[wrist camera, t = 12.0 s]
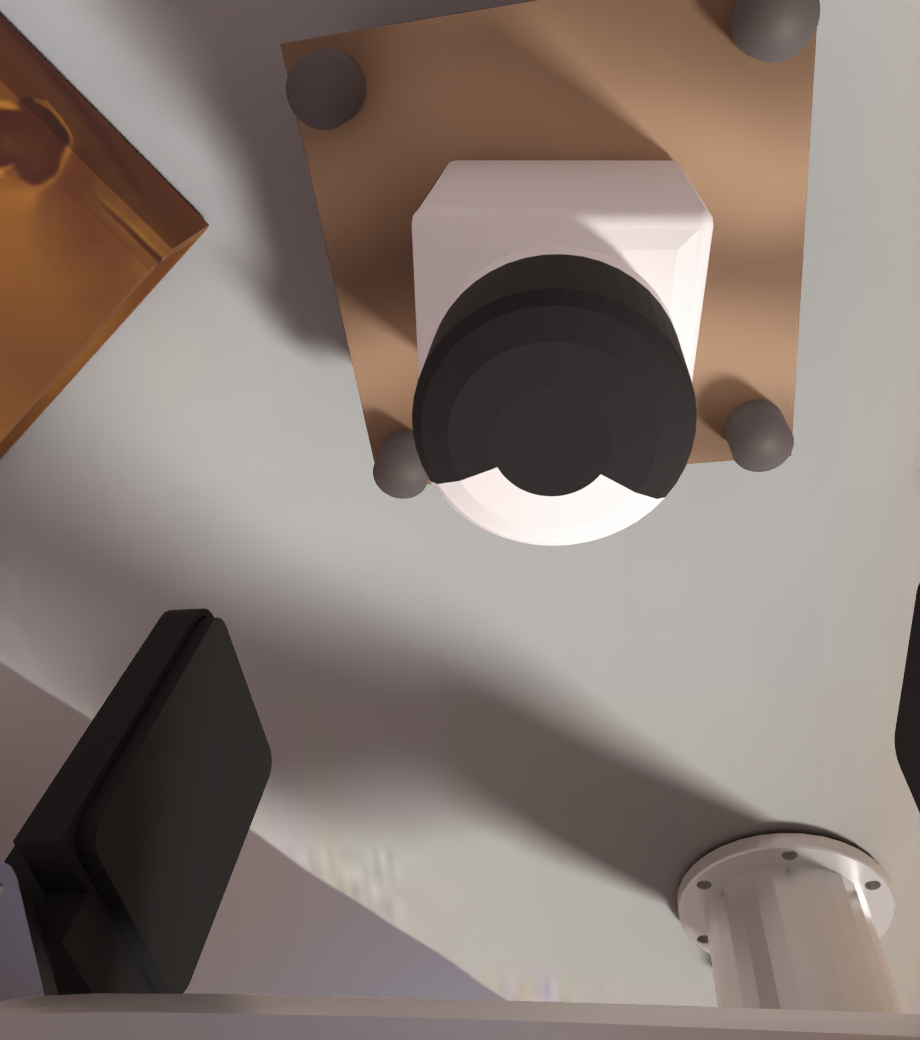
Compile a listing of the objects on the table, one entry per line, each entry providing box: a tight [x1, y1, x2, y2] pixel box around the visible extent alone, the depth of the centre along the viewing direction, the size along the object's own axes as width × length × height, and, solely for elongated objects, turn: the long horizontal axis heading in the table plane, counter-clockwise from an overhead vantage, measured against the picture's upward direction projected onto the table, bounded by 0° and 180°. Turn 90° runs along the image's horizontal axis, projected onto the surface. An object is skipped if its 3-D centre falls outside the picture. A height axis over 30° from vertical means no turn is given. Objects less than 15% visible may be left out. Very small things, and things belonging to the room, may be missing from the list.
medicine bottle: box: [412, 160, 713, 546], centre depth 23 cm, size 7×7×12 cm
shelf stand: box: [281, 0, 820, 499], centre depth 30 cm, size 15×15×8 cm
